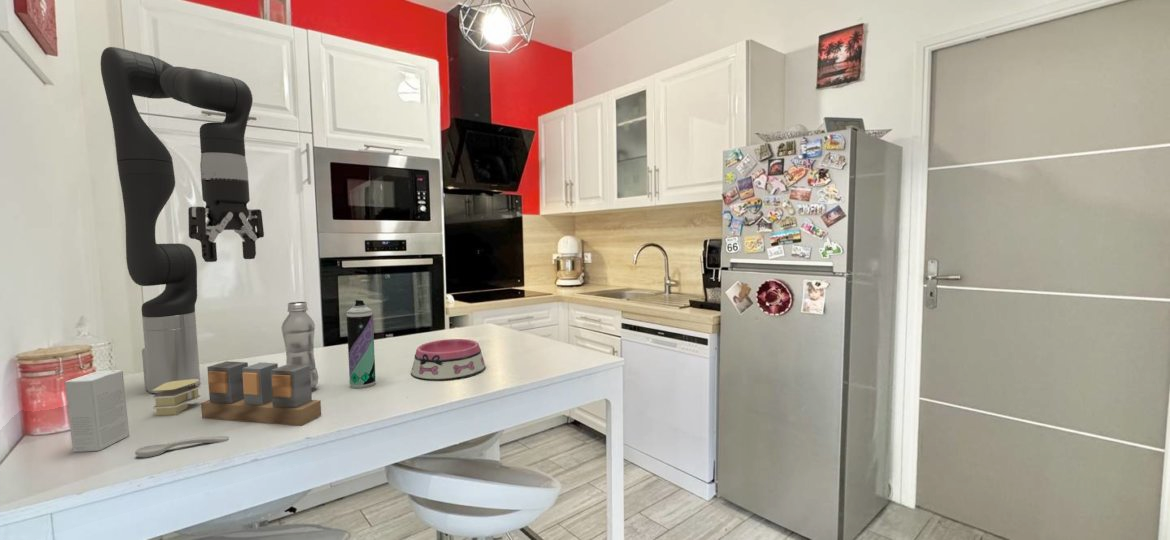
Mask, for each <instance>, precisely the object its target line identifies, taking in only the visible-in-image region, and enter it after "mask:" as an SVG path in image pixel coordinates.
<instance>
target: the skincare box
mask: <svg viewBox="0 0 1170 540" xmlns="http://www.w3.org/2000/svg"><path fill="white" fill-rule="evenodd" d="M124 380H125V379H124V370H122V369H121V370H120V369H119V370H118V369H116V370H113V369H112V370H96V371H94V372H90V373H88V374H85V375H81V376H78V377H75V378H72V379H69V380H66V381H65V382H64V384H65V385H64V386H65V393H66V402H67V410H68V419H69V420H68V421H69V422H68V423H69V428H70V429H69V430H70V438H71V439H70V440H71V446H72V452H74V453H80V452H81V453H82V452H99V451H101V450H103V449H105V448H107V447H110V446H111V445H113V444H115V443H118V442H119V441H122V439H125V438H127V437H129V436H130V428H129V427H130V426H129V418H128V409H127V407H128V406H127V399H126V390H125V381H124Z"/></svg>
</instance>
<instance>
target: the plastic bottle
mask: <svg viewBox="0 0 1170 540" xmlns="http://www.w3.org/2000/svg"><path fill="white" fill-rule="evenodd" d="M307 311H309V310H308V303H307V301H292V302H288V303H287V311H286V312H288V315H287V316H286V318H285V319H284V321H283V322H282V323H281V324H282V325H281V332H282V338H283V342H284V347H285V348H284V349H285V357H286V364H285V365H287V364H290V365H310V376H311V390H313V389H315V388H316V386H317V385H318V383H319V374H318V369H317V366H316V359H315V354H314V353H315V350H314V342H315V341H314V340H315V331H316V330H315V329H316V324H315V322H314V320H313V318H312V317H311V316H310V315H309V314H308V313H307Z"/></svg>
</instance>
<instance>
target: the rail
mask: <svg viewBox="0 0 1170 540" xmlns="http://www.w3.org/2000/svg"><path fill="white" fill-rule="evenodd" d="M247 366H249V364H248V362H246V361H229V360H228V361H222V362H219V363H216V364H213V365H209V366H207V367H206V368H207V383H208V392H209V393H208V395H209V397H208V398H209V399H207V400H205V401H201V402H200V408H201V409H200V410H201V418H202V419H210V420H220V421H221V420H224V421H235V422H249V423H261V424H262V423H263V424H277V425H291V426H301V427H302V426H304V425H306V424H308V423H310V422H311V421H313V420H315V419H317V418H320V417H322V404H321V403H322V401H321V400H320V399H319V400H318V399H312V398H313V397H312V389H311V376H310V365H290V364H287V365H286V364H284V365H281V366H278V368H275V369H272V370H270V371H271V387H272V402H269V403H267V404H265V405H250V404H245V403H244V391H243V375H242V368H244V367H247Z"/></svg>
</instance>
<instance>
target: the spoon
mask: <svg viewBox="0 0 1170 540" xmlns="http://www.w3.org/2000/svg"><path fill="white" fill-rule="evenodd" d="M228 440H229V436H228V435H212V436H211V435H210V436H202V437H199V436H198V437H191V438H185V439H181V440H180V439H179V440H175V441H171V442H168V443H165V444H152V445H151V444H150V445H147V446H146V445H145V446H143V447H139V448H138V449H136V450H135V452H134V454H135V455H136V456H137V457H138V458H142V459H144V458H152V457H156V456H161V455H162V454H163V453H165V452H166V451H168V450H170V449H173V448H174V447H179V446H182V445H183V446H185V445H191V444H192V445H193V444H205V443H209V444H210V443H211V444H212V443H214V444H215V443H216V444H217V443H224V442H227V441H228Z"/></svg>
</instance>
